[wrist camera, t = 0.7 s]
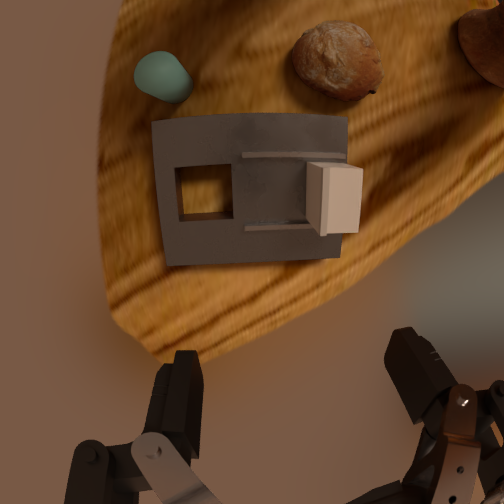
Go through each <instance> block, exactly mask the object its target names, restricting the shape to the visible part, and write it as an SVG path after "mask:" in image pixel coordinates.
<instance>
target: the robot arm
mask: <svg viewBox="0 0 504 504" xmlns="http://www.w3.org/2000/svg"><path fill="white" fill-rule="evenodd" d="M384 364H385V367H386V369H387V371H388V373H389V375H390V377H391V379H392V381H393V383H394V385H395V387H396V389H397V391H398V393H399V395H400V397H401V399H402V401H403V403H404V405H405V407H406V410H407V411H408V414H409V416H410V418H411V420H412V422H413V424H414V425H415V424H417V423H420V422H422V421H423V422H424V424H425V425H424V427H423V428H422V432H421V435H420V439H419V443H418V446H417V450H416V453H415V456H414V460H413V462H412V465H411V467H410V468H409V470H408V471H407V473H406V474H405V476H404V478H403V480H402V482H401V483H400V480H397V481H395V482H392V483H389V484H386V485H384V486H381V487H378V488H375V489H372V490H371V491H369V492H367V493H365V494H364V495H362V496H360V497H358V498H356V499H354V500H352V501H350V502H348V503H346V504H470V500H471V497H472V493H473V489H474V484H475V479H476V475H477V473H478V476H479V478H480V481H481V484H482V487H483V490H484V493H485V498H484V500H483V501H482V502H481V503H480V504H504V442H503V446H502V447H500V445H499V443H498V441H497V439H496V437H495V435H494V432H493V430H492V428H491V427H490V425H491V424H492V423H493V422H494V421H495V422H496V424H497V426H498V428H499V431H500V432H501V435H502V437H503V441H504V381H503V380H497V381H495V382H494V383H493V384H492V385H491V386H490V388H489V389H488V390H479V391H474V389H473V388H471V387H470V386H468V385H466V384H458V382H457V381H456V380H455V378H454V376H453V375H452V373H451V372H450V370H449V369H448V367H447V366H446V365H445V363H444V362H443V360H442V359H441V357H440V356H439V354H438V353H436V350H435V349H434V347H433V346H432V345H431V343H430V342H429V341H427V340H426V339H425V338H423V337H422V336H418V335H417V333H416V332H415V330H414V329H413V328H412V327H405V328H401V329H396V330H394V331H393V333H392V336H391V339H390V342H389V344H388V347H387V350H386V353H385V356H384ZM203 391H204V383H203V374H202V370H201V367H200V363H199V359H198V355H197V351H196V350H177V351H176V353H175V358H174V363H173V364H167V363H164V364H163V366H162V367H161V368H160V370H159V371H158V372H157V374H156V378H155V382H154V387H153V391H152V396H151V400H150V404H149V408H148V413H147V417H146V422H145V427H144V430H143V432H142V434H141V435H140V436H138V437H137V438H136V439H135V440H134V441H133V442H131V443H128V444H122V445H115V446H106V447H105V446H104V445H103V444H102V443H101V442H99V441H96V440H86V441H83V442H81V443H80V444H79V445H78V446H77V447H76V449H75V451H74V455H73V459H72V463H71V468H70V473H69V478H68V483H67V489H66V494H65V501H64V504H138V503H139V491H147V490H154V492H155V493H156V495H157V496H158V497H159V499H160V500H161V502H162V503H163V504H222V503H221V502H220V501H219V500H218V498H217V497H216V496H215V495H214V494H213V493H212V492H211V491H210V490H209V489H208V488H207V487H206V486H205V485H204V484H203V482H202V481H201V480H200V479H199V478H198V477H197V475H196V474H195V473H194V472H193V471H192V469H191V468H190V465H191V458H194V459H199V449H200V433H201V432H200V431H201V418H202V403H203Z"/></svg>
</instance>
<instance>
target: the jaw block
mask: <svg viewBox="0 0 504 504" xmlns="http://www.w3.org/2000/svg"><path fill="white" fill-rule="evenodd" d="M362 181H363V169H361V168H358V167H355V166H352V165H348V164H345V163H335V162H307V177H306V215H305V218H306V219H307V220H308V221H309V223H310V224H311V225H312V226H313V228H314V229H315V230H316V231H317V233H318V234H319V235H320V236H327V233H358V229H359V219H360V208H361V196H362Z"/></svg>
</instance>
